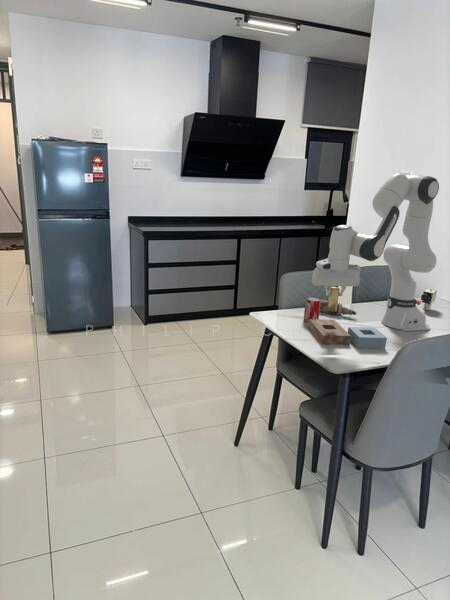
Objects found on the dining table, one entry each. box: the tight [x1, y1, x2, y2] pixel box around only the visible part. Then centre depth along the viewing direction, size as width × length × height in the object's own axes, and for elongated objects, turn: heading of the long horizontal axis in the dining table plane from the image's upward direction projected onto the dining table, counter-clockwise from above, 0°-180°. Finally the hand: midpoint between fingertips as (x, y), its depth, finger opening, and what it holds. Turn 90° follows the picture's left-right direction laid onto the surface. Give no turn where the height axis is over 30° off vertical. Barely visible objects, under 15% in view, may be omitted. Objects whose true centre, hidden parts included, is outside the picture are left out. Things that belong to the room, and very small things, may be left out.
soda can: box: [303, 296, 321, 324], centre depth 211 cm, size 7×7×12 cm
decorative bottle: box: [319, 298, 357, 317], centre depth 227 cm, size 26×8×7 cm, turn 58°
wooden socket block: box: [307, 318, 351, 346], centre depth 194 cm, size 12×20×5 cm, turn 6°
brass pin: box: [327, 286, 341, 312], centre depth 189 cm, size 4×4×10 cm
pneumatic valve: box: [420, 288, 438, 311], centre depth 244 cm, size 6×12×12 cm, turn 141°
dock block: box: [347, 326, 388, 350], centre depth 188 cm, size 12×12×6 cm
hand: (333, 295), depth 189 cm, fingers closed on brass pin, 4 cm apart
